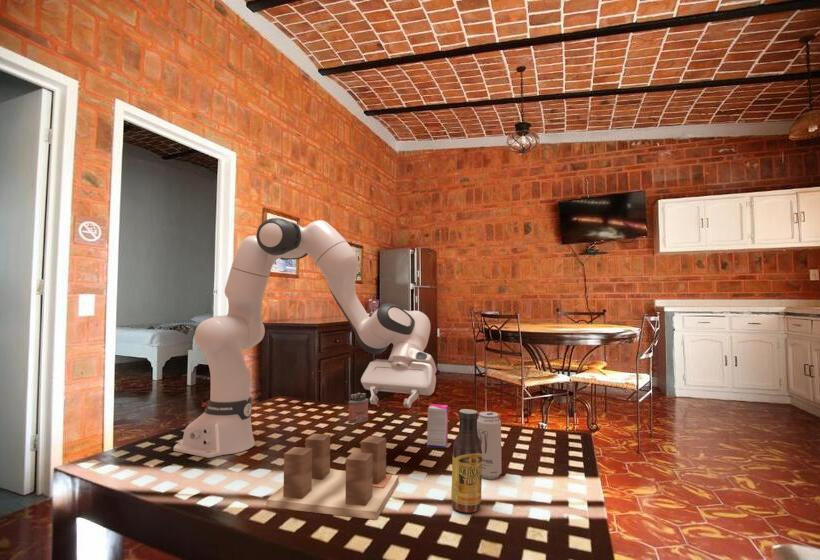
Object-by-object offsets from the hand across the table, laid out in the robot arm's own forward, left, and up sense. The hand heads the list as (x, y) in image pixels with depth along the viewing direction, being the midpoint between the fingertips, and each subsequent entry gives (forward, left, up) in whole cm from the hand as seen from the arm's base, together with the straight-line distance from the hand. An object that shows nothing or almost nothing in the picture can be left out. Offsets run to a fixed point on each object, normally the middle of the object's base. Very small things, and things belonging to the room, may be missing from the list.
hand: (389, 404), depth 107 cm
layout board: (-8, -13, -17) cm, 23 cm away
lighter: (-23, +44, -17) cm, 52 cm away
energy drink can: (+25, +5, -17) cm, 30 cm away
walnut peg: (-1, -8, -15) cm, 17 cm away
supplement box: (+9, +25, -17) cm, 31 cm away
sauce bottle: (+21, -13, -17) cm, 30 cm away
